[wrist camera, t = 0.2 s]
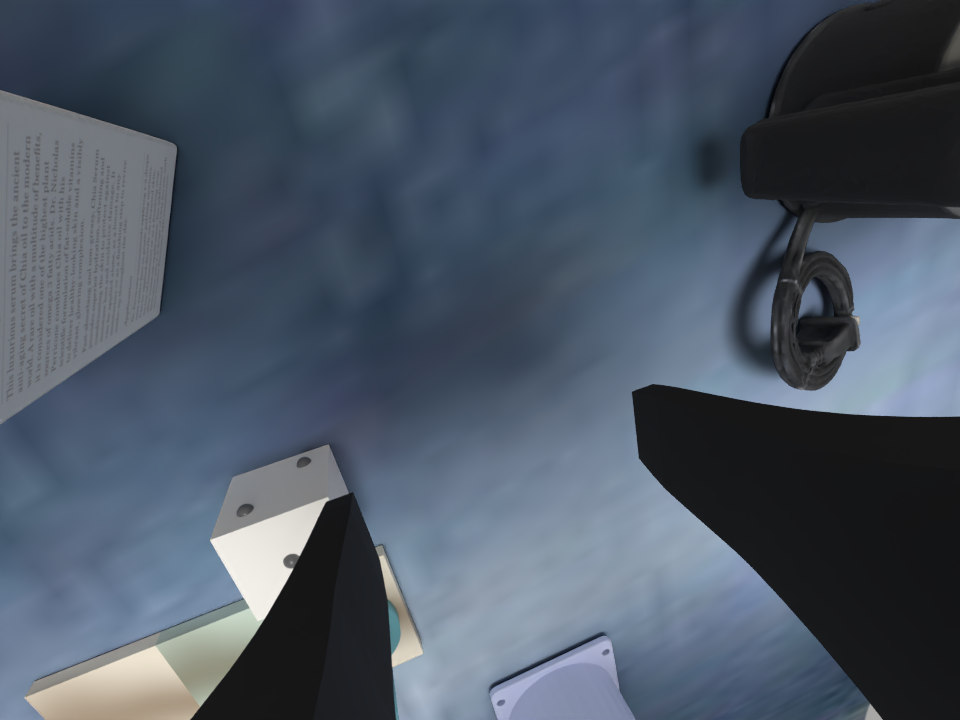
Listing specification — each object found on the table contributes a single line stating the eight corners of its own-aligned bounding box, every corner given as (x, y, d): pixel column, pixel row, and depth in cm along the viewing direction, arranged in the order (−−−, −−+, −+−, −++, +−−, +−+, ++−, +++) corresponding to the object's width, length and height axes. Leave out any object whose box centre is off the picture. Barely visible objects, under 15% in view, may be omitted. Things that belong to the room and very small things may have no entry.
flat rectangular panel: (421, 642, 25) (423, 653, 24) (120, 774, 22) (113, 791, 22) (382, 544, 22) (383, 554, 22) (34, 681, 20) (24, 697, 19)
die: (358, 514, 22) (364, 583, 18) (264, 550, 21) (249, 629, 17) (326, 438, 20) (325, 495, 16) (224, 473, 19) (196, 542, 15)
